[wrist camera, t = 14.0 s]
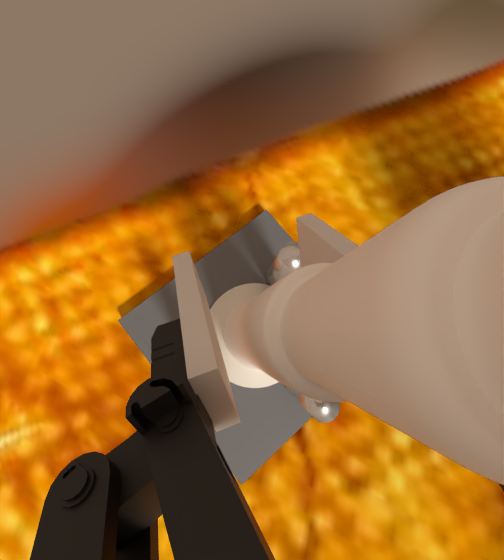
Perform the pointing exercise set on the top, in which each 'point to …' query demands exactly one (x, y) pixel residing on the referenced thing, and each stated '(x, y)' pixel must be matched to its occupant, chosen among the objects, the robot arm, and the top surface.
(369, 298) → the cosmetic bottle
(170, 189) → the top surface
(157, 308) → the board
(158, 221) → the top surface
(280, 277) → the steel pins
